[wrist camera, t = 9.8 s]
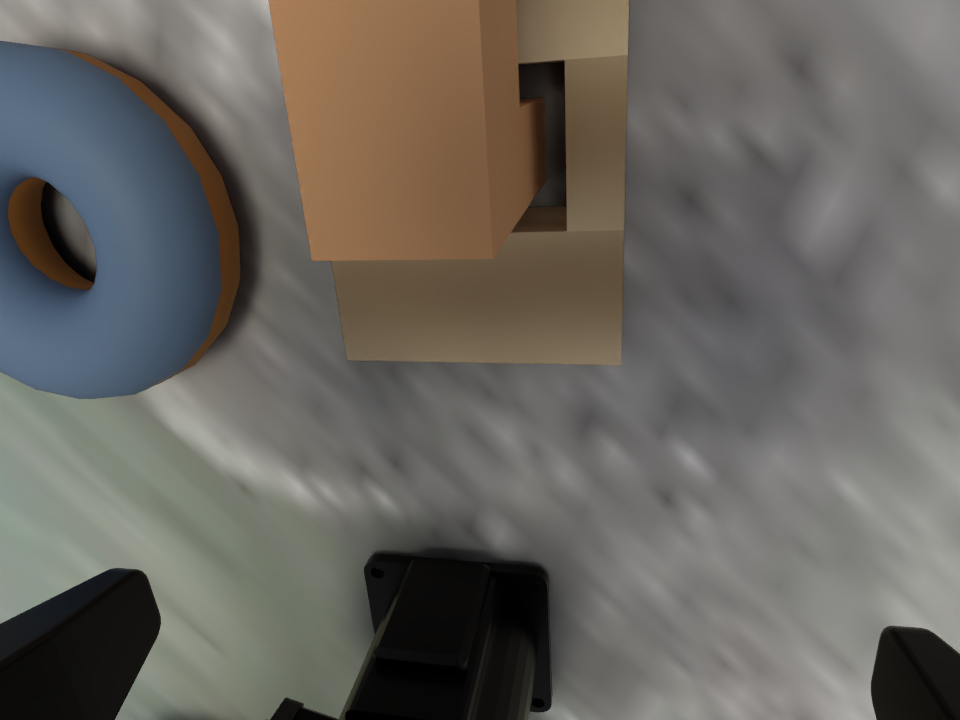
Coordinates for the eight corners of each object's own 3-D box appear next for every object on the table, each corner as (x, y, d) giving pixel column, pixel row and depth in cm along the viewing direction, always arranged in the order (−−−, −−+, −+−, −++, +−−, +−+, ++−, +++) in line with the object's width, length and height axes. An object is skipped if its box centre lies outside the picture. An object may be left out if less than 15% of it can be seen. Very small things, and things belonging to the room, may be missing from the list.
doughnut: (-51, -19, 18) (-234, -17, 14) (290, 109, 18) (202, 146, 14) (-16, 289, 23) (-143, 351, 19) (249, 387, 23) (175, 469, 20)
